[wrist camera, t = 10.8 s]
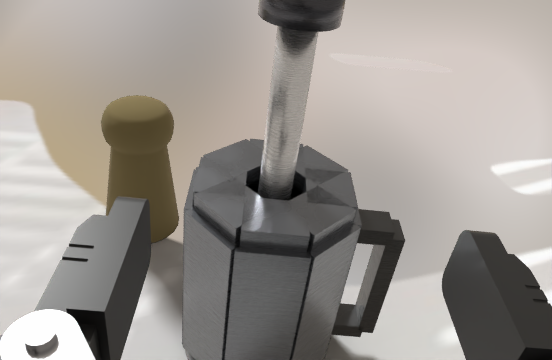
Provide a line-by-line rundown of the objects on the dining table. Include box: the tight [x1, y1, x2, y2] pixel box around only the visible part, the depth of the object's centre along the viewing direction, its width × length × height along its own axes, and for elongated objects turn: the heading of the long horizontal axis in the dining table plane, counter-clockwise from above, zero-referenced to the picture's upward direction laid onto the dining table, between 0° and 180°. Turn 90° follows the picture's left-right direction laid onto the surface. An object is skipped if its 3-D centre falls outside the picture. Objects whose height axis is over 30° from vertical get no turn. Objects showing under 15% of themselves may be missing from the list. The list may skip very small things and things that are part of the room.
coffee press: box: [182, 139, 405, 360], centre depth 30 cm, size 12×9×13 cm
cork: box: [101, 95, 179, 243], centre depth 39 cm, size 6×6×11 cm
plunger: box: [258, 0, 345, 201], centre depth 26 cm, size 6×6×21 cm
